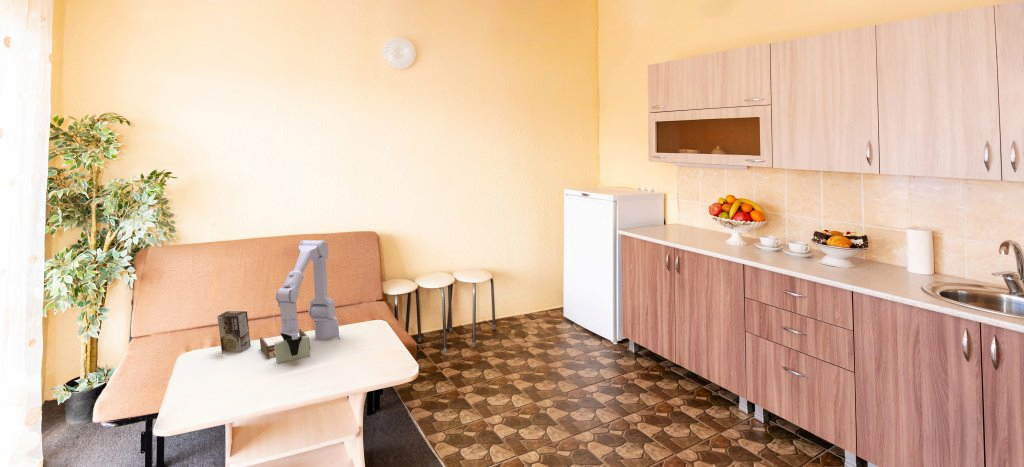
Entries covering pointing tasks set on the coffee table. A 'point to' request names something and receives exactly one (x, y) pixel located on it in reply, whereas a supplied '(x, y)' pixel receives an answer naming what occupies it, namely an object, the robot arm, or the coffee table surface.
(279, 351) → the pale green long block
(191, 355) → the coffee table surface
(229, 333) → the coffee box
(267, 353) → the rack
